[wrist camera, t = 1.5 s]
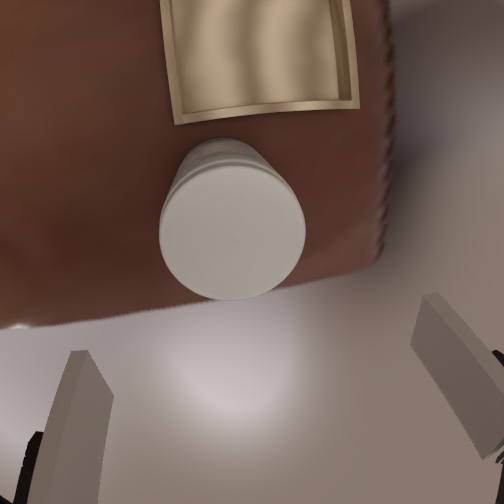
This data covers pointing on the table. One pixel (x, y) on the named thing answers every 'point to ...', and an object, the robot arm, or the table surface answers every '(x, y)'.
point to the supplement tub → (230, 223)
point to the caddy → (258, 57)
